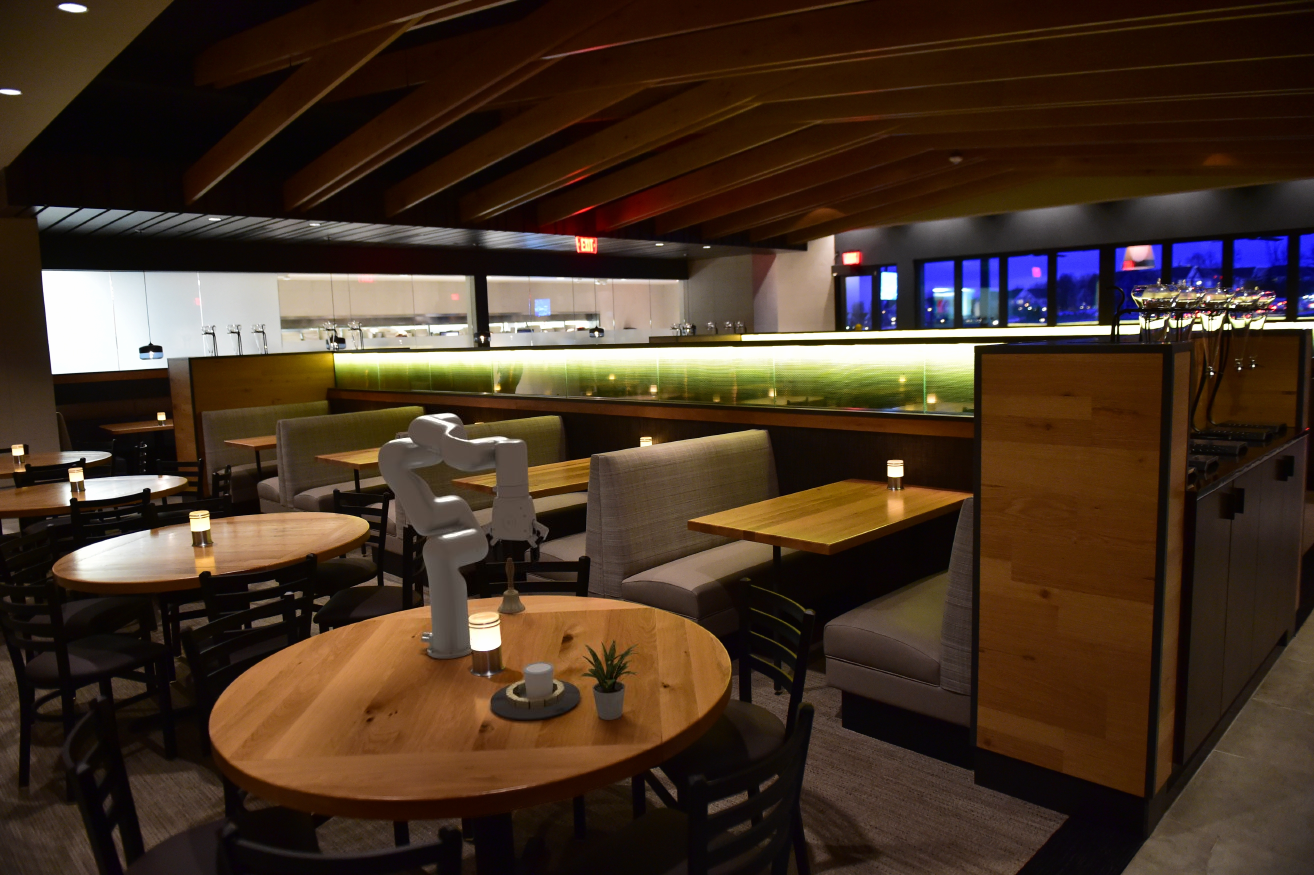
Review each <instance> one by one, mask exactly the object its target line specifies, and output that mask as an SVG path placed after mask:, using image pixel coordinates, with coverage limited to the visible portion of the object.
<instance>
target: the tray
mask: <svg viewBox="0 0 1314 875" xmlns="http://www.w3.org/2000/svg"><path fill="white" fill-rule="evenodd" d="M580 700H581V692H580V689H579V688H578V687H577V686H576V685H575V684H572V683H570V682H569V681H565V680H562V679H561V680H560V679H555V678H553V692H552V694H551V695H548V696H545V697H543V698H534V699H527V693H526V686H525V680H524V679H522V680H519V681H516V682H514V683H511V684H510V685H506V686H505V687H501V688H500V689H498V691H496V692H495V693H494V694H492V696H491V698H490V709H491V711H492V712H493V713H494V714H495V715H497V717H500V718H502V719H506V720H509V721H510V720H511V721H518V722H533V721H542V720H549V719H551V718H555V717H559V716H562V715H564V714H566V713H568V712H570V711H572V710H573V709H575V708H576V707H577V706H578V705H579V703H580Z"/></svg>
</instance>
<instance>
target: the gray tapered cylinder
mask: <svg viewBox="0 0 1314 875" xmlns="http://www.w3.org/2000/svg"><path fill="white" fill-rule="evenodd" d="M522 672H523V673H522V674H523V677H524V678H523V680H525V686H526V693H527V699H534V698H543V697H545V696H548V695H551V694H552V692H553V679H554V664H553V663H550V662H545V661H537V662H532V663H529V664H526V665H525V666H524V667H523V670H522Z"/></svg>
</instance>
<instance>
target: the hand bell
mask: <svg viewBox="0 0 1314 875" xmlns="http://www.w3.org/2000/svg"><path fill="white" fill-rule="evenodd" d="M505 574H506V577H507V589H506V590H505V591H504V592H503V596H502V601H501V604H500V606H498V608H497V612H499V613H500V614H516V613H517V614H518V613H521V612H523V611H525V610H526V605H525V604H523V602H521V599H520V595H519V591H518V590H516V589H515V588H514V576H515V575H514V574H515V565H514V561H513V558H512V557H508V558H506V564H505Z"/></svg>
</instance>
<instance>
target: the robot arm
mask: <svg viewBox="0 0 1314 875" xmlns="http://www.w3.org/2000/svg"><path fill="white" fill-rule="evenodd" d="M407 435H408V437H405V438H397V439H393V440H390V441H388V442H386V443H384V444H383V445H382V446H380V448H379V451H378V454H377V463H378V469H379V472H380V474H381V477H382V479H383V480H384V482H385V483H386V484H387V486H388V487H389V489H390V490H391V491H392V493H394V495H395V496H396V497H397V499H398V500H399V503H400V505H401V507H402V509H403V511H404V512H405V514H406V516H407V518H408V520H409V522H410V523H411V525H412V527H413V529H414V530H415V531H416V533H417V534H419V535H420V536H422V537H423V536H425V537H426V536H432V537H429V539H427V540H426V542H425V543H424V545H423V548H422V557H423V561H424V562H423V563H424V564H425V570H426V574H427V578H428V589H429V604H430V618H431V632H428V631H426V632H425V631H424V632H422V634H421V638H420V641H421V643H428V645H429V646H428V647H427V650H426V651H427V655H428V656H429V657H431V658H434V659H440V660H441V659H443V660H446V659H450V660H451V659H456V658H461V657H464V656H468V655H470V654H472V653H471V645H470V639H471V638H470V637H471V636H470V626H469V625H470V624H469V623H470V621H469V606H468V605H469V602H468V590H467V582H466V579H465V577H464V576H463V575H462V574H461V572H460V571H459V568H460V567H463V566H467V565H470V564H474V563H476V562H479V561H482V560H483V559H485V558H486V557H487V555H488V553H489V544H490V546H492V557H493V561H494V562H496V563H498V562H499V561H501V560H503V559H504V548H503V547H504V546H503V542H501V541H502V540H503V541H505V540H506V541H527V542H528V543H529V545H530V546H531V547H529V557H530V564H531V565H535V564H537V563H539V562H540V558H541V551H540V550H541V549H540V546H541V545H542V544H543V542H544V541H545V540H546V538H547V536H548V533H549V531H550V530H549V527H547V526H545V525H544V524H542V523H540V522H538V521H537V514H536V510H535V505H534V504H535V503H534V501H533V497H532V496H531V495H530V486H529V485H530V484H529V482H530V481H529V464H528V463H529V462H528V461H529V460H528V446H527V443H526V441H525V440H523V439H520V438H508V437H505V436H501V435H500V436H496V435H495V436H490V437H481V438H476V439H475V438H474V439H468V433H467V430H466V429H465V426H464V423H463V421H462V419H461V418H460V417H459V416H458V415H456V414H454V413H450V412H446V413H437V414H436V413H434V414H426V415H421V416H418V417H416V418H415V419H413V420H412V421H411V423H410V424H409V426H408V428H407ZM442 461H443V462H444V463H445V465H447V466H449V467H451V468H454V469H457V470H459V471H463V472H472V473H473V472H478V471H482V470H488V469H494V468H495V478H496V479H495V480H496V483H495V484H496V485H493V486H492V487H491V489H492V492H495V493H496V496H495V497H494V498H493V503H492V510H491V511H492V512H491V521H490V522H488V523H486V524H484V525H483V526H481V524H480V522H479V521H478V519H477V517H476V515H475V514H474V512H473V511H472V509H471V507H470V506H469V504H468V502H467V501H466V500H465V499H464V498H463V497H460V496H459V495H454V494H452V495H451V494H450V495H446V496H445V495H443V496H436V495H435V494H434V492H432V490H431V488H430V486H429V484H428V483H427V482H426V480H424V479H423V478H422V477H421V476H419V475H418V474H416V473H415V472H413V471H411V469H412V470H413V469H419V468H425V467H431V466H436V465H438V464H440V463H441V462H442ZM538 531H539V533H540V534H539V536H537V532H538ZM433 535H434V536H433ZM488 541H489V542H490V543H489V542H488Z"/></svg>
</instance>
